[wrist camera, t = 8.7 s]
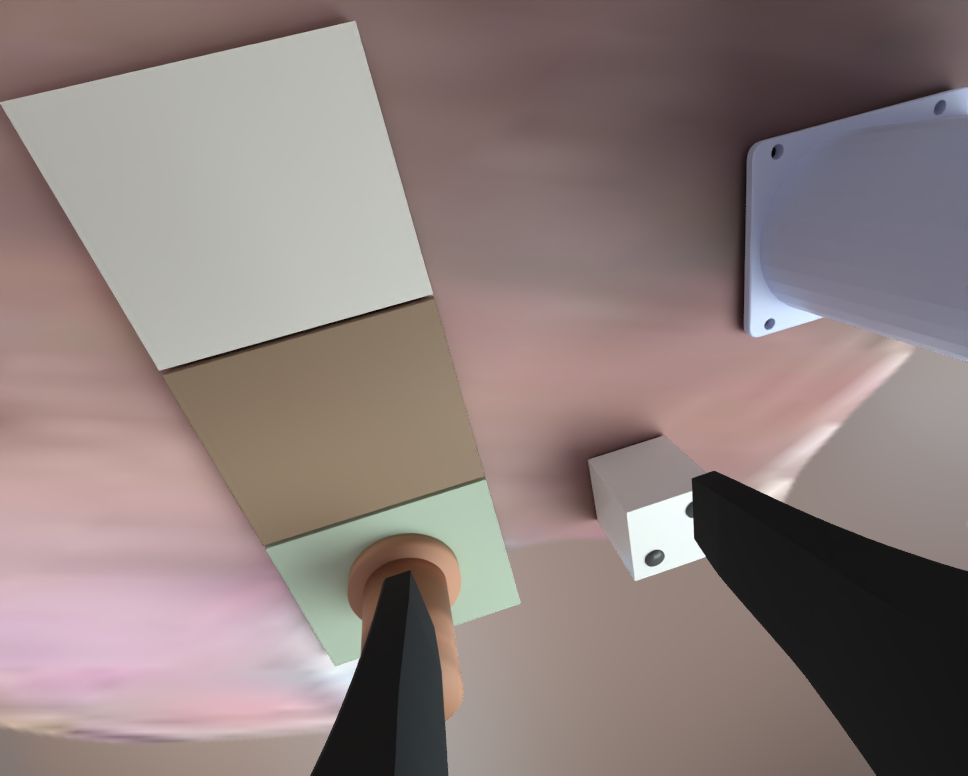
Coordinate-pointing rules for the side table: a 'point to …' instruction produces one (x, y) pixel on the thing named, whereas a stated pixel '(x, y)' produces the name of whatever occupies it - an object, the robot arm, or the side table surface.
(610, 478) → the die
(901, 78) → the side table surface
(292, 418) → the board
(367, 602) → the pawn
